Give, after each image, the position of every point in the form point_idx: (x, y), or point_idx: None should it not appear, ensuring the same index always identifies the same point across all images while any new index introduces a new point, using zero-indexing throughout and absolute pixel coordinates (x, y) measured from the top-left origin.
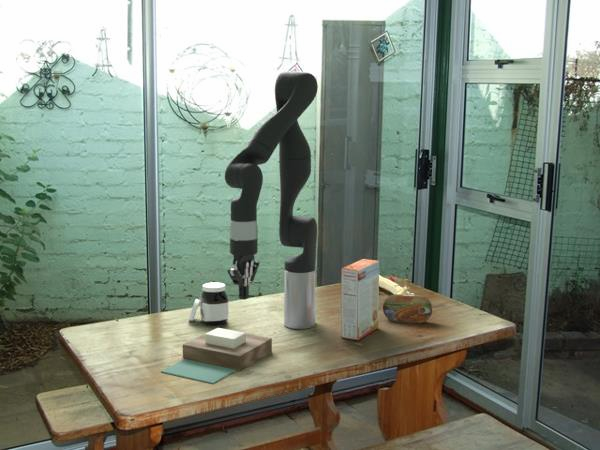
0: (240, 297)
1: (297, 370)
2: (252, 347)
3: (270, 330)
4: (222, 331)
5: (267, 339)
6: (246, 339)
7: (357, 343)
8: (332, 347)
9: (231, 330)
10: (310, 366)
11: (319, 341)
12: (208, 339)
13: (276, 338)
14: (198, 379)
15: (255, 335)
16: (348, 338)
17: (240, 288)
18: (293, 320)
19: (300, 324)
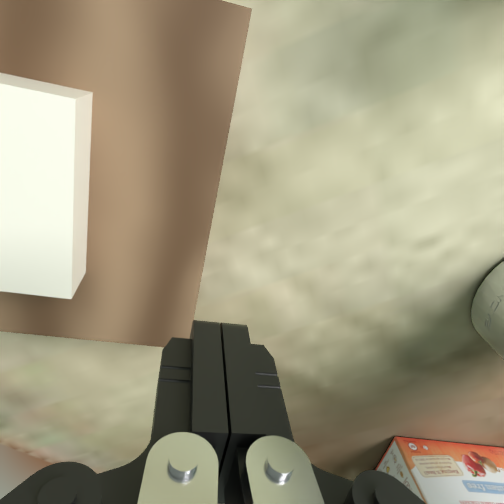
0: (191, 336)
1: (60, 426)
2: (27, 324)
3: (455, 216)
4: (16, 164)
5: (164, 340)
6: (119, 262)
7: (351, 475)
8: (301, 440)
9: (68, 210)
10: (113, 442)
11: (349, 398)
12: None
13: (354, 272)
14: None
15: (196, 277)
16: (384, 454)
17: (163, 430)
18: (498, 314)
19: (482, 328)
